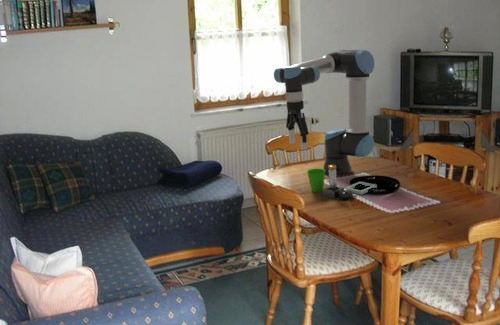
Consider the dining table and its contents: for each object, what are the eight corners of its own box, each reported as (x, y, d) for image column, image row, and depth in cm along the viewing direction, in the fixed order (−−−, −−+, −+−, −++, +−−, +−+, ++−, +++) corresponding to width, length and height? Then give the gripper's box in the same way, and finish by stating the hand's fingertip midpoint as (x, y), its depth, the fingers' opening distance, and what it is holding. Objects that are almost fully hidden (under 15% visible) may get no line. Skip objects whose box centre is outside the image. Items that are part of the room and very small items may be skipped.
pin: (333, 192, 284) (331, 164, 280) (339, 194, 281) (337, 165, 277) (328, 195, 281) (326, 166, 278) (334, 196, 279) (332, 167, 275)
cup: (326, 195, 284) (324, 173, 281) (307, 195, 286) (305, 173, 283) (327, 189, 293) (326, 168, 290) (309, 189, 295) (307, 168, 292)
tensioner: (332, 192, 288) (332, 182, 286) (357, 197, 277) (357, 187, 275) (320, 197, 282) (319, 187, 281) (345, 203, 271) (344, 193, 270)
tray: (360, 186, 293) (359, 181, 292) (376, 189, 286) (376, 184, 285) (344, 192, 285) (344, 188, 285) (361, 196, 278) (361, 191, 277)
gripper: (276, 98, 277) (280, 142, 283) (298, 105, 254) (301, 153, 260) (291, 96, 279) (295, 139, 285) (314, 103, 256) (317, 150, 262)
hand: (298, 146), depth 272 cm, fingers open, 13 cm apart
